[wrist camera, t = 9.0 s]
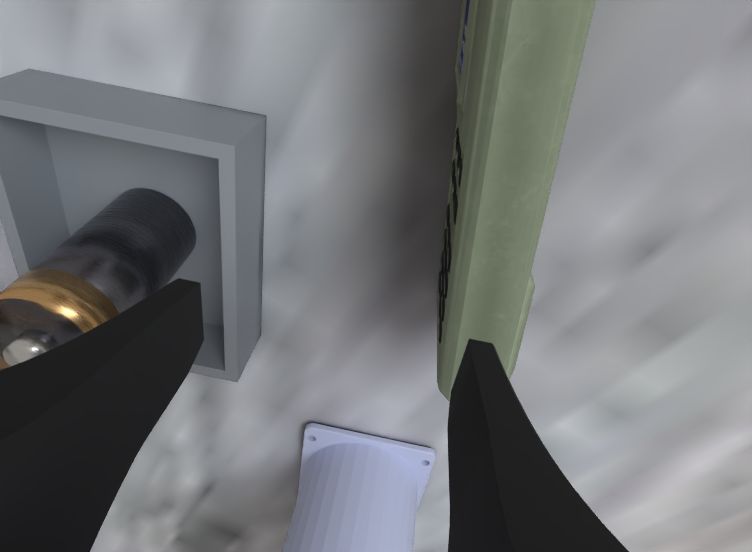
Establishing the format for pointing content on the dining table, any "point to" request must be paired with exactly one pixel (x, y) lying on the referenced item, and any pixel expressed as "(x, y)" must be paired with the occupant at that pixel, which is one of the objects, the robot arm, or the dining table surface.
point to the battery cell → (95, 273)
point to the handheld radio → (503, 167)
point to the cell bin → (141, 170)
